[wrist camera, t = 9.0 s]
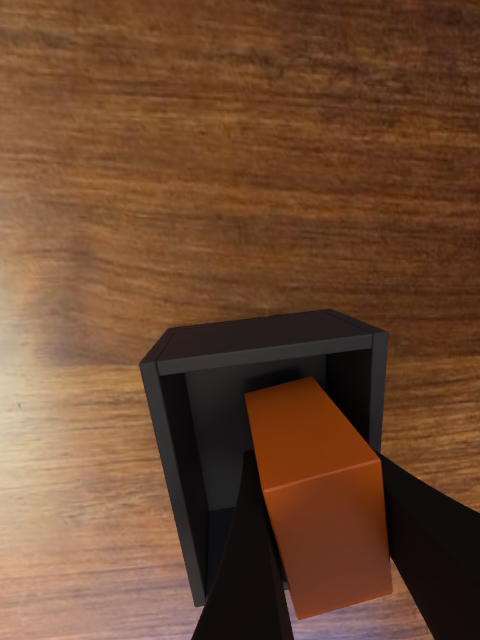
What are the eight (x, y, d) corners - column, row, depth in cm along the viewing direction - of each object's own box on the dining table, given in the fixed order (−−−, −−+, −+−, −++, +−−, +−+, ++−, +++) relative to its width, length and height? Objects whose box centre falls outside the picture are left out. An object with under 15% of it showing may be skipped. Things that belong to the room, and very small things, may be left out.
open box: (331, 308, 13) (388, 331, 8) (331, 489, 16) (372, 574, 12) (167, 328, 12) (137, 363, 8) (202, 511, 15) (194, 608, 11)
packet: (312, 375, 11) (382, 459, 6) (327, 468, 13) (394, 594, 8) (243, 392, 11) (262, 492, 6) (267, 484, 13) (297, 622, 8)
